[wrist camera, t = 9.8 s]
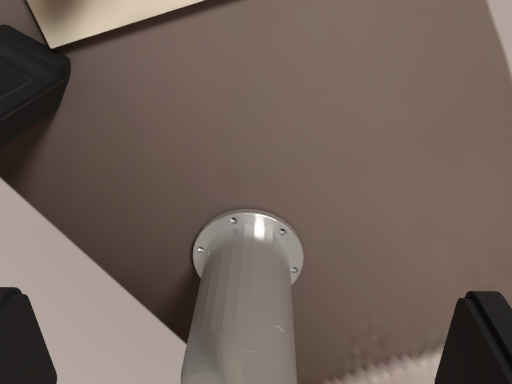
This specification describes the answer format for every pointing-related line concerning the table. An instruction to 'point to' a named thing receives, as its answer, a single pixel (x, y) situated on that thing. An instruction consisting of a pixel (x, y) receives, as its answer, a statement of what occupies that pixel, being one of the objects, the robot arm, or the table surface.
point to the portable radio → (28, 82)
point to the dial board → (94, 16)
